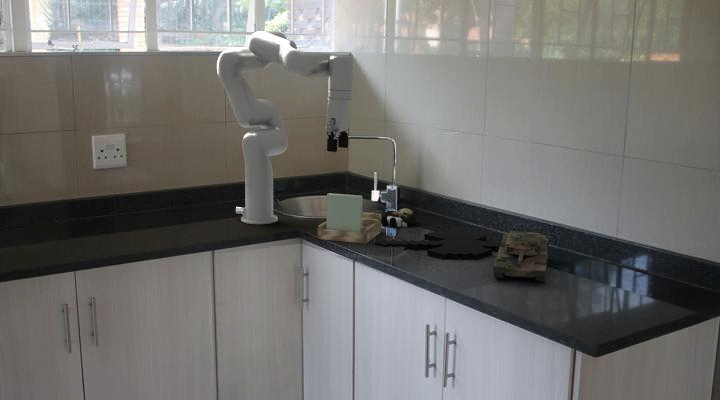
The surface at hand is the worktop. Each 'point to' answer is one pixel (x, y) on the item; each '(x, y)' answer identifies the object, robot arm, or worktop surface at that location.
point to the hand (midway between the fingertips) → (337, 149)
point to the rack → (367, 232)
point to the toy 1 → (398, 218)
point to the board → (344, 212)
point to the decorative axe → (449, 245)
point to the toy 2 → (522, 255)
